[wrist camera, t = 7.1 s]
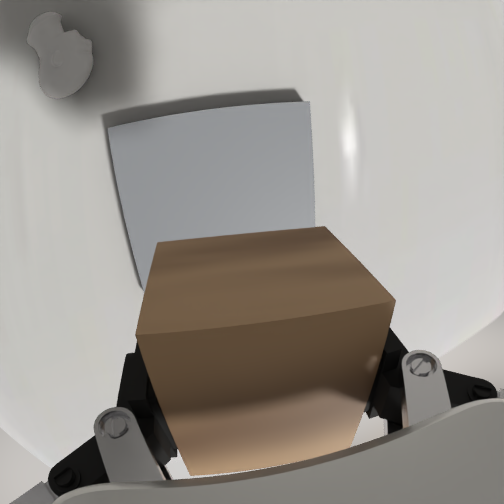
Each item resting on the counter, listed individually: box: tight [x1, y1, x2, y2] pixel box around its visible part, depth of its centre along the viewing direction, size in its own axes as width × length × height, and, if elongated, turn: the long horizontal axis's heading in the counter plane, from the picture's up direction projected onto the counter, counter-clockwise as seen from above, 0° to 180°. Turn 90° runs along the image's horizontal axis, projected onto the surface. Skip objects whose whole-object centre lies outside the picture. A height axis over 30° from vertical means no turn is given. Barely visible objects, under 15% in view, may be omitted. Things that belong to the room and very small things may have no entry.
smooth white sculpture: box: [27, 11, 93, 99], centre depth 18 cm, size 4×8×5 cm
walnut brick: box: [135, 226, 396, 476], centre depth 11 cm, size 7×6×5 cm
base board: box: [107, 101, 315, 293], centre depth 27 cm, size 16×16×2 cm
